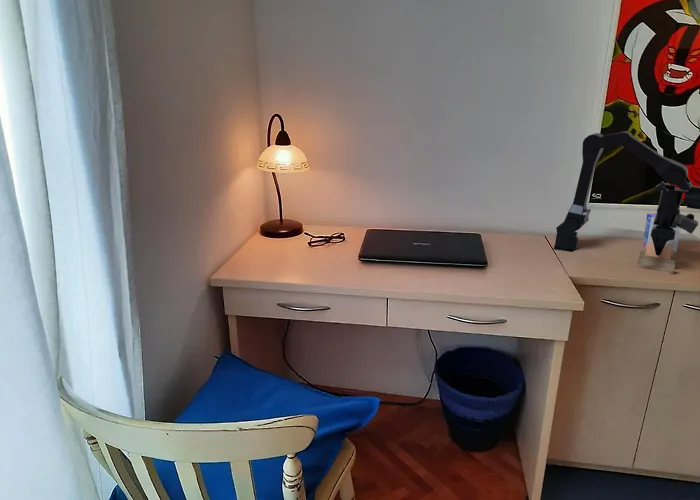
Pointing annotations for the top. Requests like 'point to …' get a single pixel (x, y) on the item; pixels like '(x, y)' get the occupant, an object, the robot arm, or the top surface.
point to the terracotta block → (664, 254)
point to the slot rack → (656, 263)
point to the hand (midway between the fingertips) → (658, 253)
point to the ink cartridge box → (648, 230)
